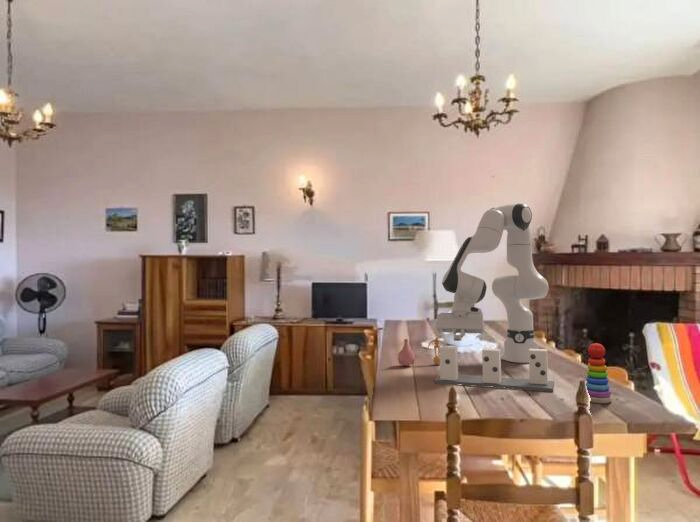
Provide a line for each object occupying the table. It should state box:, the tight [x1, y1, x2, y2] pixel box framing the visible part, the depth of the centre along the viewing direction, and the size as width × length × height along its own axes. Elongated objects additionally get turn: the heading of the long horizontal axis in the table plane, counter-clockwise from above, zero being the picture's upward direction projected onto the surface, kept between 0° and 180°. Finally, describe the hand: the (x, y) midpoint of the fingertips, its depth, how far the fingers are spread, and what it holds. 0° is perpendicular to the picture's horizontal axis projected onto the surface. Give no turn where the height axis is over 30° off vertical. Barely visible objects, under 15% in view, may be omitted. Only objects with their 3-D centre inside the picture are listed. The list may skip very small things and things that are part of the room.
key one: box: [438, 346, 459, 381], centre depth 196 cm, size 4×6×12 cm
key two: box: [481, 347, 502, 384], centre depth 189 cm, size 4×6×12 cm
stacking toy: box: [585, 342, 613, 404], centre depth 166 cm, size 8×8×19 cm
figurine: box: [427, 337, 447, 366], centre depth 231 cm, size 8×6×12 cm
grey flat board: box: [434, 374, 555, 393], centre depth 192 cm, size 12×42×1 cm, turn 66°
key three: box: [528, 348, 549, 385], centre depth 186 cm, size 4×6×12 cm
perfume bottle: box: [397, 338, 416, 367], centre depth 228 cm, size 8×8×12 cm
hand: (457, 339), depth 209 cm, fingers closed
